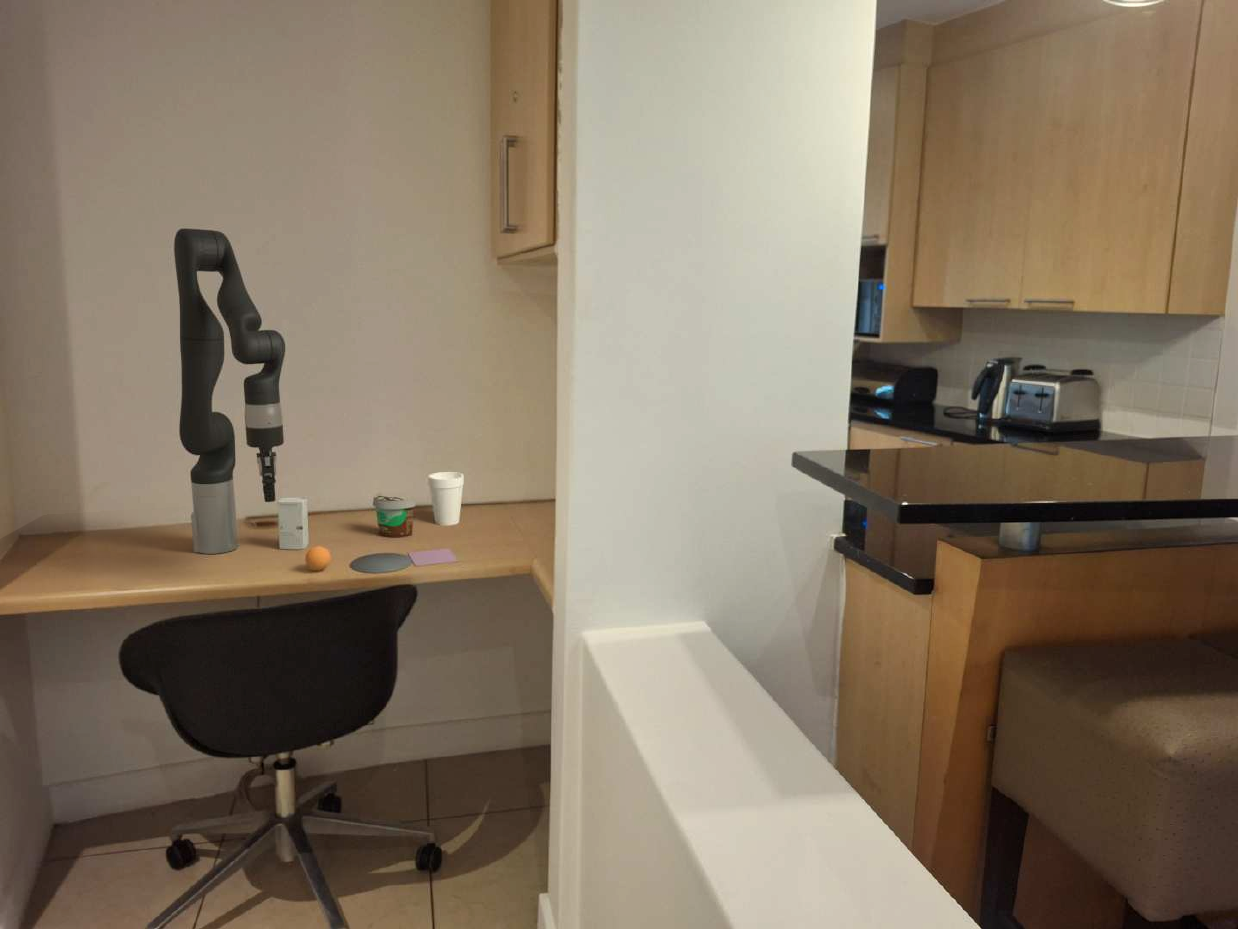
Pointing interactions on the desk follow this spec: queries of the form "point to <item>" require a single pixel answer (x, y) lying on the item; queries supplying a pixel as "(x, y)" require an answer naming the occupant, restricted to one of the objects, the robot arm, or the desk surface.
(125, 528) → the desk surface
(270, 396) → the robot arm
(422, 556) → the far mark
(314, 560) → the ball
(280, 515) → the white box
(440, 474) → the foam cup
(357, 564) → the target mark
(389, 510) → the food container
